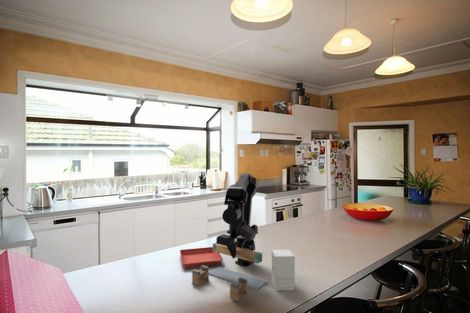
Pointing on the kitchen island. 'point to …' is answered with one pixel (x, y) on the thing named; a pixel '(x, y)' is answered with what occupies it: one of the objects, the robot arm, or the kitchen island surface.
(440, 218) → the kitchen island surface
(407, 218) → the kitchen island surface
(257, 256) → the rail
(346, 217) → the kitchen island surface
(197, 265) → the plant saucer
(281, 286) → the supplement box
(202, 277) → the post
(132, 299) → the kitchen island surface
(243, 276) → the mat
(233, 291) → the post
